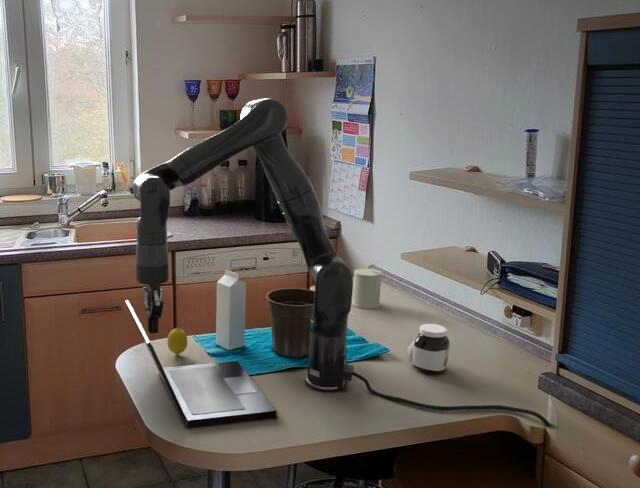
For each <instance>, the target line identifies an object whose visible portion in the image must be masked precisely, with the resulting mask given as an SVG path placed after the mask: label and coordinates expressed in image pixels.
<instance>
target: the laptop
mask: <svg viewBox="0 0 640 488" xmlns="http://www.w3.org/2000/svg"><path fill="white" fill-rule="evenodd" d="M163 370H164V372H165V374H166V376H167V378H168V380H169V382H170V384H171V387H172V389H173V391H174V393H175V395H176V397H177V399H178V402H179V404H180V406H181V408H182V410H183V413H184V415H185V417H186V419H187V421H186V422H184V424H185V426H186V427H187V429H191V428H200V427H206V426H207V427H208V426H216V425H217V426H218V425H226V424H234V423H243V422H252V421H261V420H268V419H277V412H278V411H277V408H275V407H274V405H273V404H272V403H271V401H269V399H268V398H267V396H266V395H265V394H264V393H263V391H262V390H261V389H260V387H258V385H257V383H256V382H255V381H254V380H253V379H252V378H251V376H250V375H249V373H247V371H246V370H245V369H244V367H243V366H242V365H241V363H240V362H239V361H238V360H232V361H221V362H211V363H209V362H208V363H199V364H190V365H179V366H168V367H166V366H165V367H163Z"/></svg>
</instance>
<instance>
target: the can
mask: <svg viewBox="0 0 640 488" xmlns="http://www.w3.org/2000/svg"><path fill="white" fill-rule="evenodd" d="M382 274H383V272H382V271H381V270H379V269H375V268H369V267H368V268H366V267H363V268H362V267H361V268H356V269H354V270H353V291H352V301H351V305H353V307H356V308H359V309H365V310H369V309H370V310H371V309H377V308H379V307H380V306H381V304H380V301H381V287H382Z"/></svg>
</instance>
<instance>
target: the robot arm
mask: <svg viewBox="0 0 640 488" xmlns="http://www.w3.org/2000/svg"><path fill="white" fill-rule="evenodd" d="M239 117H240V119H239V120H238V121H236V122H235V123H234V124H232V125H231V126H229V127H227V128H225V129H224V130H222V131H220V132H218V133H216V134H213V135H212V136H209V137H207V138H206V139H203V140H201V141H199V142H197V143H195V144H193V145H191V146H190V147H188V148H186V149H185V150H184V151H182V152H180V153H178V154H177V155H176V156H174V157H173V158H171V159H170V160H168V161H165V162H163V163H160V164H158V165H155V166H154V167H152V168H149V169H147V170H146V171H144V172H142V173H141V174H140V175H138V176H137V177H136V178H135V180H134V181H133V184H132V194H133V196H134V198H135V199H136V200H137V201H138V202H139V203H140V204H139V205H140V207H139V209H140V213H139V217H138V219H137V220H136V226H135V228H136V229H135V230H136V231H135V232H136V235H135V237H136V245H135V246H136V247H135V280H136V281H137V282H138V283H139V284H141V285H144V287H142V294H143V302H144V310H145V312H146V316H147V331H148V333H149V334H152V335H153V334H158V333H159V319H161V318H162V313H163V310H164V309H163V308H164V301H163V300H162V298H163V295H164V294H163V289H161V285H162V284H165V283H167V282H168V281H169V279H170V273H169V272H170V268H169V265H170V264H169V261H170V259H169V246H168V224H167V222H168V219H169V213H170V208H171V191H172V190H174V189H177V188H178V187H187V186H190V185H191V184H192V183H194V182H196V181H197V180H199V179H200V178H202V177H203V176H205V175H206V174H208V173H209V172H211V171H213V170H214V169H215V168H217V167H219V166H220V165H222V164H223V163H225V162H227V161H228V160H229V159H232V158H233V157H235V156H236V155H238V154H239V153H242V152H243V151H246V150H247V149H250V148H251V147H252V148H253V150H254V152H255V154H256V156H257V157H258V159H259V161H260V163H261V165H262V169H263V171H264V173H265V176H266V178H267V180H268V183H269V185H270V188H271V190H272V192H273V195H274V197H275V200H276V202H277V205H278V207H279V208H280V211H281V214H282V216H283V217H284V220H285V222H286V224H287V225H288V228H289V229H290V231H291V232H292V234H293V236H294V237H295V239H296V241H297V242H298V245H299V247H300V249H301V252H302V255H303V258H304V261H305V265H306V268H307V271H308V274H309V278H310V280H311V282H312V284H313V285H314V291H315V298H314V306H313V307H312V308H311V313H310V334H309V356H307V357H308V358H307V359H308V360H307V377H306V384H307V385H308V386H309V387H310V388H312V389H314V390H317V391H322V392H335V391H336V392H337V391H343V390H344V387H345V383H346V382H352V379H353V377H355V378H357V379H359V380H361V381H362V382H363V383H364V384H365V387H366V389H367V390H368V391H369V392H370V393H371V394H372V395H375V396H378V397H380V398H383V399H386V400H389V401H394V402H395V401H396V402H400V403H404V404H407V405H411V406H415V407H418V408H422V409H428V410H434V411H435V410H436V411H465V410H472V411H473V410H476V411H477V410H480V411H481V410H504V411H511V412H516V413H522V414H527V415H531V416H534V417H536V418H537V419H539V420H540V421H541V422H542V423H543V424H544V425H545V426H546V427H549V428H550V427H552V424H551V423H550V421H549V420H548V419H547V418H546V417H544V416H543V415H541V414H540V413H538V412H536V411H534V410H531V409H526V408H519V407H513V406H507V405H499V404H497V405H496V404H488V405H487V404H486V405H485V404H483V405H451V406H449V405H448V406H446V405H445V406H443V405H433V404H426V403H422V402H418V401H414V400H410V399H406V398H403V397H399V396H394V395H387V394H383V393H380V392H378V391H376V390H374V389H373V388H372V386H371V384H370V382H369V381H368V379H367V378H366V377H364V376H363V375H361V374H359V373H357V372H355V371H354V367H355V365H354V364H349V363H347V356H348V355H347V354H348V347H347V340H348V339H347V337H348V322H349V321H348V320H349V315H350V312H351V310H352V301H353V289H354V274H353V271H352V269H351V268H350V266H349V265H348V264H347V263H346V262H344V260H343V259H342V258H341V257H340V255H339V254H338V253H337V251H336V249H335V247H334V245H333V243H332V242H331V239H330V237H329V235H328V233H327V229H326V226H325V220H324V215H323V211H322V206H321V203H320V200H319V198H318V195H317V193H316V191H315V189H314V185H313V184H312V181H311V180H310V178H309V176H308V175H307V173H306V172H305V170H304V169H303V168H302V166H301V165H300V164H299V163H298V161H296V159H295V158H294V157H293V155H292V154H291V153H290V151H289V149H288V148H287V146H286V143H285V142H284V138H283V136H282V133H283V131H284V130H285V129H286V127H287V124H288V121H289V113H288V110H287V107H286V106H285V105H284V104H283V103H282V102H281V101H280V100H277V99H275V98H271V97H269V98H268V97H267V98H266V97H265V98H258V99H253V100H251V101H249V102H246V104H244V106H243V107H242V109H241V112H240V116H239Z"/></svg>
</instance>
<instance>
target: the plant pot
mask: <svg viewBox="0 0 640 488" xmlns="http://www.w3.org/2000/svg"><path fill="white" fill-rule="evenodd" d="M314 298H315V290H313V289H308V288H302V287H301V288H300V287H285V288H283V287H282V288H277V289H274V290H271V291H269V292H267V293H266V295H265V299H266V300H267V306H268V311H269V317H270V318H269V319H270V331H271V343H272V352H276V354H277V355H279V356H282V357H285V358H302V357H303V356H306V357H308V356H309V334H310V313H311V308H312V307H313V306H314Z"/></svg>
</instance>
